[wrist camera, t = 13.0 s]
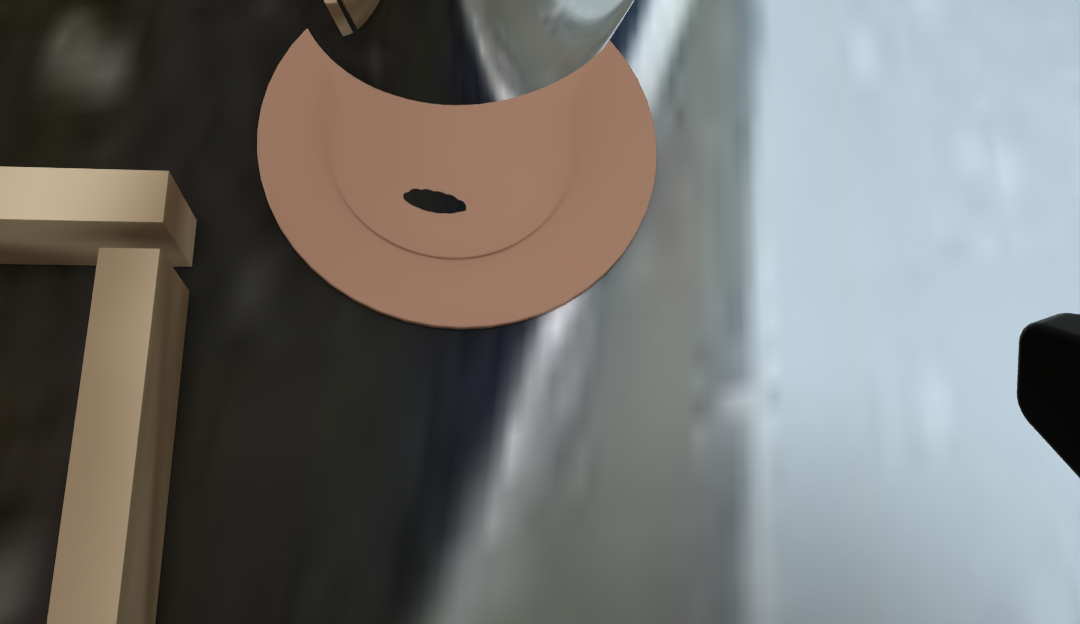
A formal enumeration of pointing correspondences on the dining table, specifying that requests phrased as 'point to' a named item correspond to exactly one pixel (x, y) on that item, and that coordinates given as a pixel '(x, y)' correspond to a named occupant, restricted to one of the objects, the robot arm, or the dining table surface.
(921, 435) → the dining table surface
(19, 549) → the dining table surface
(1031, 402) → the robot arm
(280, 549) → the dining table surface
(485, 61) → the beer glass
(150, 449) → the pocket frame
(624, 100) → the mat
